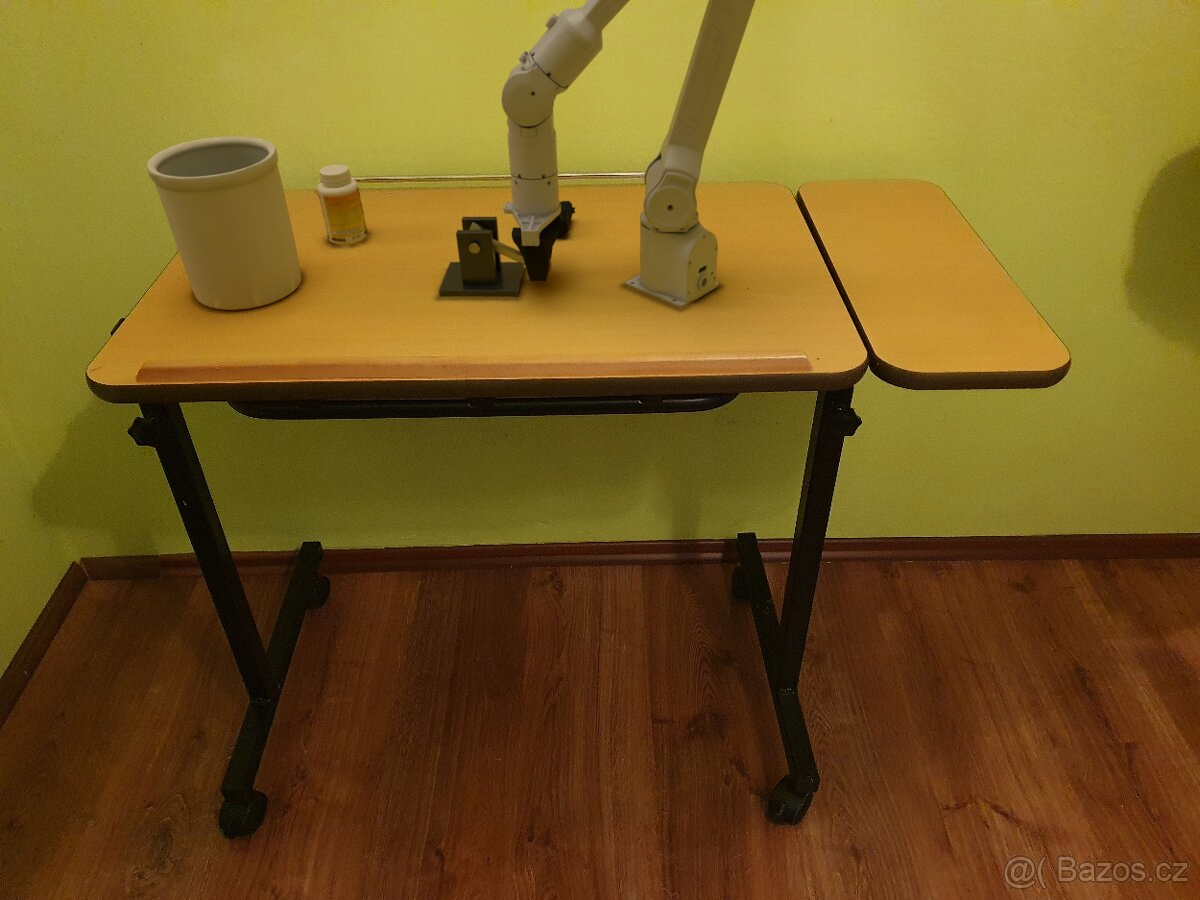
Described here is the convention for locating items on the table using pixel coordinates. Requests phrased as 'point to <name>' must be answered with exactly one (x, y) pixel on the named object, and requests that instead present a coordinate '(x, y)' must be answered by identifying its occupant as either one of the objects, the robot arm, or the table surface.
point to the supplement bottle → (341, 205)
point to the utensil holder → (229, 220)
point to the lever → (505, 248)
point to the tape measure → (565, 217)
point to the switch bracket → (481, 264)
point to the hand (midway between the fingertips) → (540, 273)
